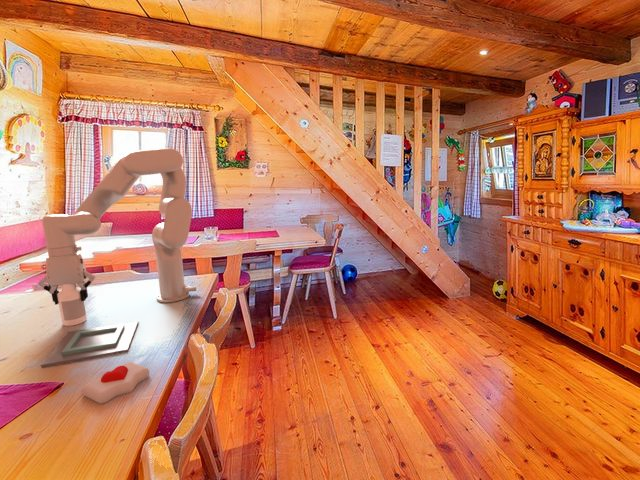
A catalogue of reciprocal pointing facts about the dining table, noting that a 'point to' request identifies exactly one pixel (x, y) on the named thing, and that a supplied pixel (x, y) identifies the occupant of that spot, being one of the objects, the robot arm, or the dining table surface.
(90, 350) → the dock
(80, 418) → the dining table surface
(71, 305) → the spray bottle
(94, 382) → the icon
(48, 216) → the robot arm
